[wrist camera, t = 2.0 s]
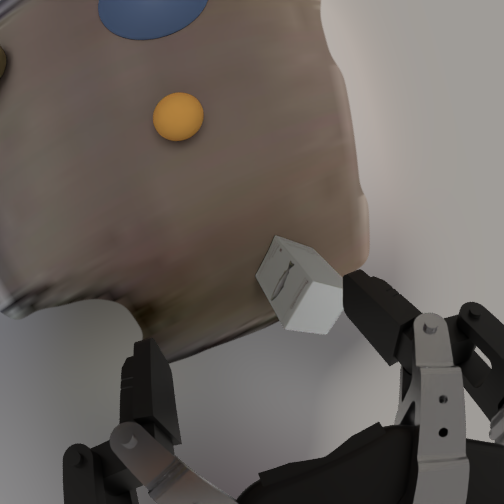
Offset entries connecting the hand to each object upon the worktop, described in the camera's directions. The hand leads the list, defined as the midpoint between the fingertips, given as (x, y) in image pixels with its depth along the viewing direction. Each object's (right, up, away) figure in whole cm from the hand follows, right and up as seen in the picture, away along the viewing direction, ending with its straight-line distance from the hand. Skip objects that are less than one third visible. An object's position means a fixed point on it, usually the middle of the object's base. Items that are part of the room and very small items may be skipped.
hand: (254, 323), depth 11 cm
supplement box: (+5, +1, +33) cm, 33 cm away
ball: (-8, +18, +17) cm, 25 cm away
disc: (-12, +34, +10) cm, 38 cm away
